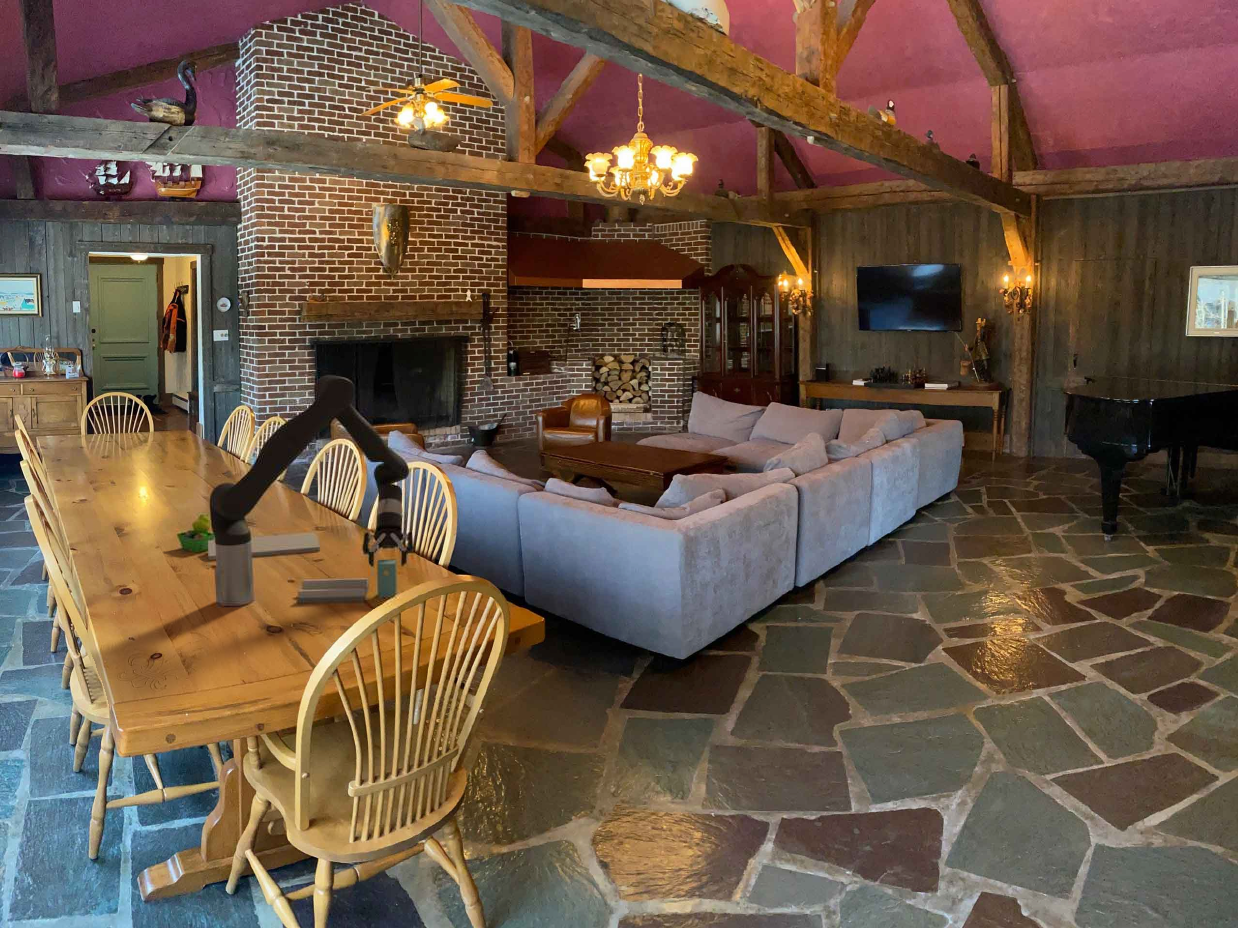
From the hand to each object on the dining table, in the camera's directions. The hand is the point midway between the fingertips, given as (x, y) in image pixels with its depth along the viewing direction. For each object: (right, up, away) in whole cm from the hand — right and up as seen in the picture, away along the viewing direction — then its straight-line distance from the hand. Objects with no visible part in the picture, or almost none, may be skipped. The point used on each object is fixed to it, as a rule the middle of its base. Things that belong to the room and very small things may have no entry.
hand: (387, 565), depth 272 cm
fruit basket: (-74, +1, +43) cm, 86 cm away
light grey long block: (-51, -1, +41) cm, 65 cm away
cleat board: (-15, -8, -2) cm, 17 cm away
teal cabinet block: (0, -9, -1) cm, 9 cm away
